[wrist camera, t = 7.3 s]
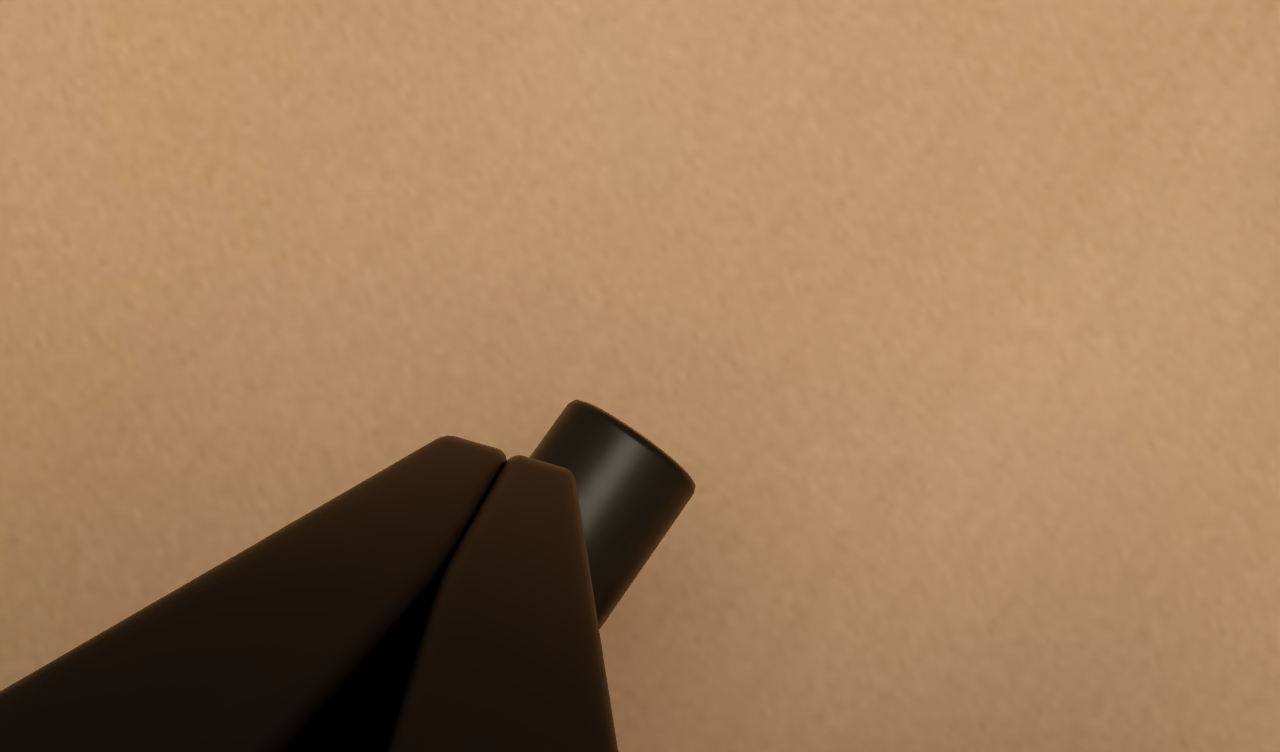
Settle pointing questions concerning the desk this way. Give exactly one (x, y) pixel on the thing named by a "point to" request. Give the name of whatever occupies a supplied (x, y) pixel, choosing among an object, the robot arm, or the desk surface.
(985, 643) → the desk surface
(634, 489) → the lever handle
